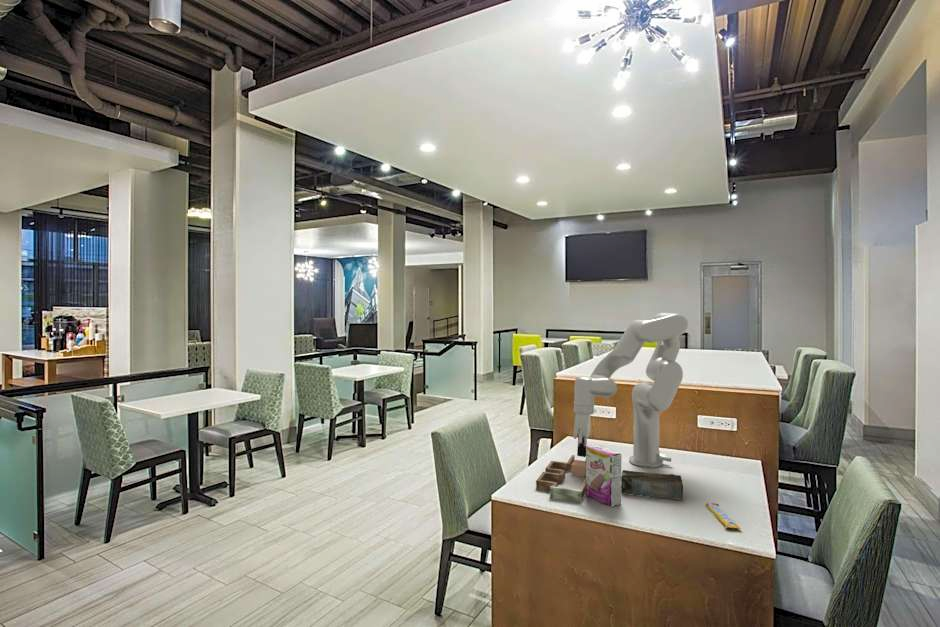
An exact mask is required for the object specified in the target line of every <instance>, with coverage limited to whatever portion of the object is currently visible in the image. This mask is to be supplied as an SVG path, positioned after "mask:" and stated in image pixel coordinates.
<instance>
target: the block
mask: <svg viewBox="0 0 940 627" xmlns="http://www.w3.org/2000/svg"><path fill="white" fill-rule="evenodd" d="M570 471H571V472H570V475H571V474H573V475H572V476H575V475H579V476H578V477H582V476H585V477H586V460H579V459H575V461H574V462H573V463H572V464H571V470H570Z"/></svg>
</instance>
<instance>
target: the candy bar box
mask: <svg viewBox="0 0 940 627" xmlns="http://www.w3.org/2000/svg"><path fill="white" fill-rule="evenodd" d="M586 446H587V447H586V457H585V461H586V476H585V478H586V493H585V496H586V495H587V497H589V498H591V499H593V500H595V499H596V500H595V501H597V500H598V501H597V502H599V501H600V503H602V502H603V503H602V504H604V503H605V504H604V505H606V504H607V505H606V506H608V505H609V506H608V507H610V506H613V505H616V506H618V505H617V504H619V505H621V504H622V492H621V476H622V453H621V452H619V451H615V450H612V449H609V448H607V447H605V446H602V445H598V444H591V445H586ZM620 503H621V504H620ZM613 507H614V506H613Z"/></svg>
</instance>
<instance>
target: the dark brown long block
mask: <svg viewBox="0 0 940 627" xmlns="http://www.w3.org/2000/svg"><path fill="white" fill-rule="evenodd" d="M622 493H625V494H624V495H629V494H633V495H632V496H636V495H642V496H641V497H644V496H649V497H648V498H653V497H655V498H656V499H665V500H672V501H683V495H684V483H683V480H682V476H681V475H677V474H674V473H672V474H665V473H658V472H657V473H656V472H644V471H636V470H635V471H634V470H632V471H631V470H625V469H623V470H621V494H622ZM655 498H654V499H655Z"/></svg>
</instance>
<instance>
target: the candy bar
mask: <svg viewBox="0 0 940 627" xmlns="http://www.w3.org/2000/svg"><path fill="white" fill-rule="evenodd" d="M705 507H706V508H707V510H709V511H710V513H711V512H712V513H713V514H714V515H713V514H712V513H711V514H712V515H713V517H715V518H716V519H717V521H718V522H719V523H720V524H721V526H723V527H724V529H725V528H726V529H735V530H741V528H740V526H739V525H738V524H737V523H736V522H735V521H733V519H732V518H731V517H730V516H729V515H728V514H726V512H725V511H724V510H722V508H721V507H720V504H718V503H715V502H713V503H711V504H709V503H708V502H707V503H705Z"/></svg>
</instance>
